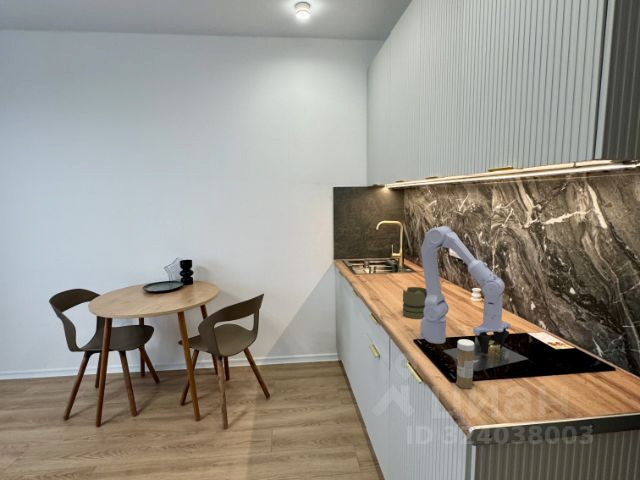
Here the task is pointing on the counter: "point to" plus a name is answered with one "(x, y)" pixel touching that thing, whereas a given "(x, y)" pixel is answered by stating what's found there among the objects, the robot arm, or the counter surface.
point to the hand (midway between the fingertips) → (491, 351)
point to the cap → (493, 349)
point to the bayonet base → (488, 357)
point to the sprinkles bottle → (465, 363)
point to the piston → (414, 302)
